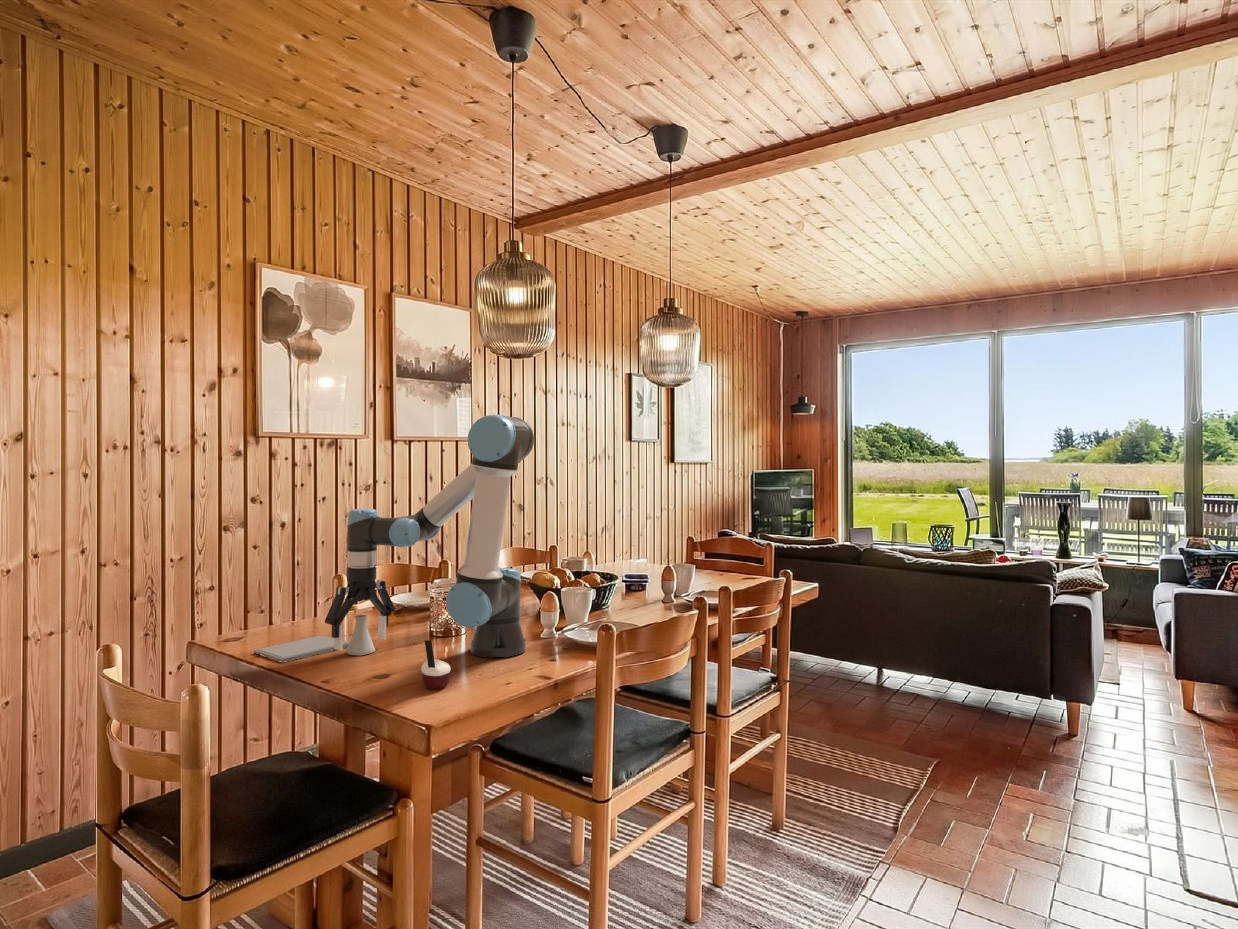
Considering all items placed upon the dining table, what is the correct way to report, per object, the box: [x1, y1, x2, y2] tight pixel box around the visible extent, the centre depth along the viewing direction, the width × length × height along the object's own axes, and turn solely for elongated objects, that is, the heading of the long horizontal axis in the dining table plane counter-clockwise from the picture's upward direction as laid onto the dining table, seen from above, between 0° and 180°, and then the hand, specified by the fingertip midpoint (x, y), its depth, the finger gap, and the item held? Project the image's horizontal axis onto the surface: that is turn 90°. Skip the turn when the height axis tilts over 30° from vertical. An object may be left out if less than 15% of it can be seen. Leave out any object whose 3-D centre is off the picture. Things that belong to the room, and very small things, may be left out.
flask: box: [345, 614, 376, 657], centre depth 190 cm, size 7×7×10 cm
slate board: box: [253, 634, 350, 662], centre depth 192 cm, size 14×20×1 cm
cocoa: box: [420, 639, 452, 690], centre depth 163 cm, size 10×6×12 cm, turn 149°
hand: (360, 644), depth 191 cm, fingers open, 13 cm apart
